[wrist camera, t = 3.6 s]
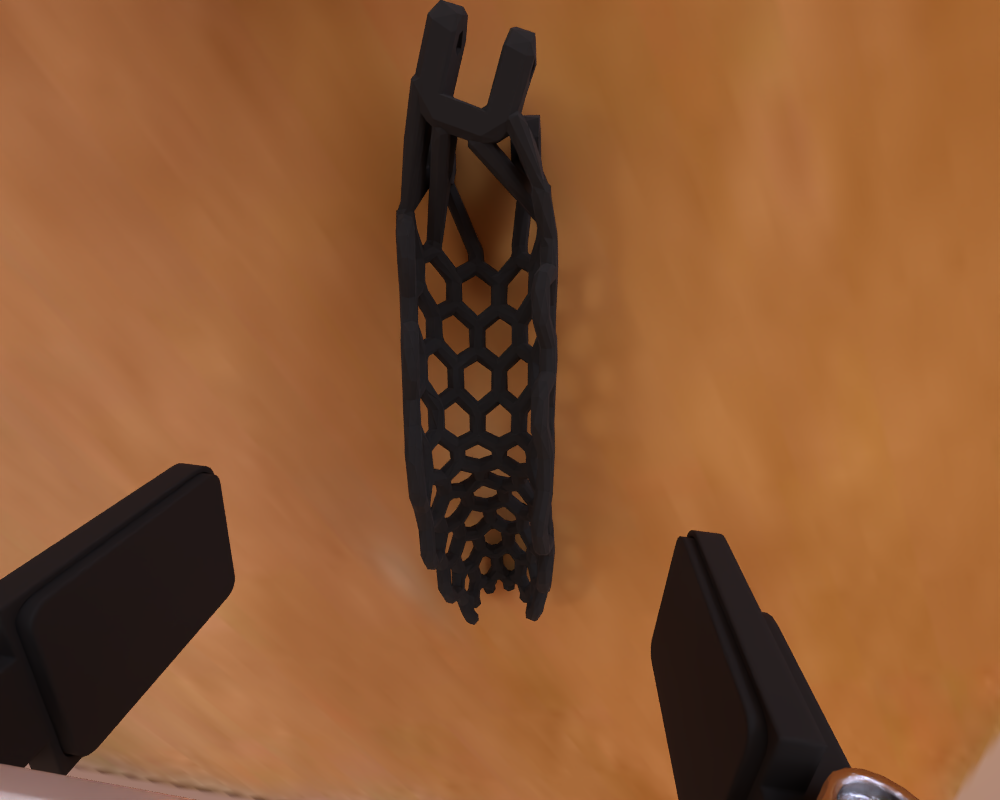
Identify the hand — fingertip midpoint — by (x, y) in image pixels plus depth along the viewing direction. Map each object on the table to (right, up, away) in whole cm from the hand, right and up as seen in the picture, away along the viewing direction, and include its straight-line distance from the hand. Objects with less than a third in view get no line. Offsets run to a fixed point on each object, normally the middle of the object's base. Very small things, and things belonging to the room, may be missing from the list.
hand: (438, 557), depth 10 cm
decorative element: (+1, +4, +10) cm, 11 cm away
